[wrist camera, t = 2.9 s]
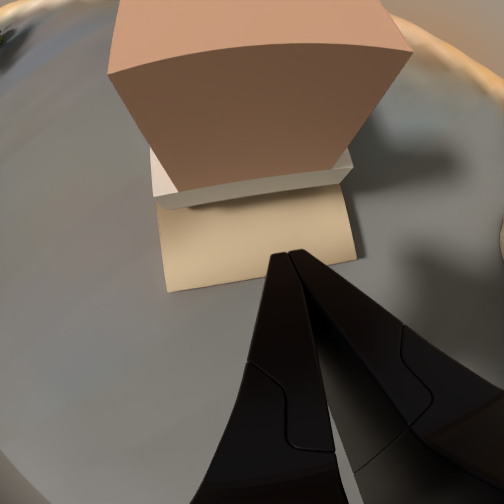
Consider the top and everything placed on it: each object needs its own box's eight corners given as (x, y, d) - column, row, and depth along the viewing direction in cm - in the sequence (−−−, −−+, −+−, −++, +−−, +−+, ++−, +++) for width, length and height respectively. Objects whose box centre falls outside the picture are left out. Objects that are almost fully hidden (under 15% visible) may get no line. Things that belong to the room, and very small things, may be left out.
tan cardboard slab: (350, 261, 17) (408, 243, 10) (172, 292, 16) (129, 292, 10) (270, -2, 19) (276, -58, 13) (155, 13, 19) (140, -42, 12)
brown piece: (327, 196, 16) (446, 59, 5) (175, 220, 15) (61, 91, 4) (286, 57, 17) (314, -86, 6) (164, 74, 16) (119, -69, 5)
